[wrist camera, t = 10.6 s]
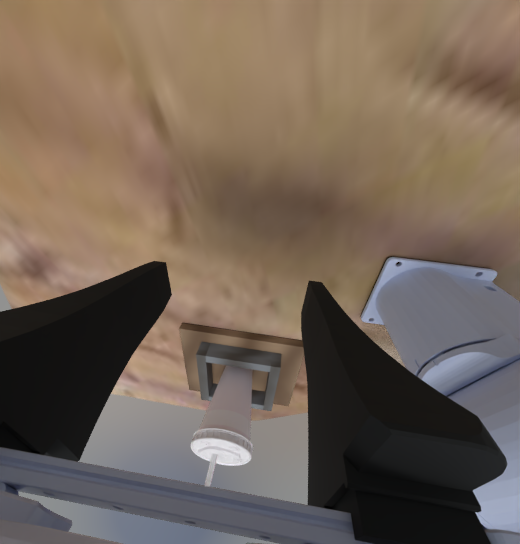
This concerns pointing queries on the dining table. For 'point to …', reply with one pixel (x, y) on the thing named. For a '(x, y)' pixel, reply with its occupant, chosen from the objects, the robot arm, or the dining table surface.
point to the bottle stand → (242, 362)
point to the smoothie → (227, 422)
